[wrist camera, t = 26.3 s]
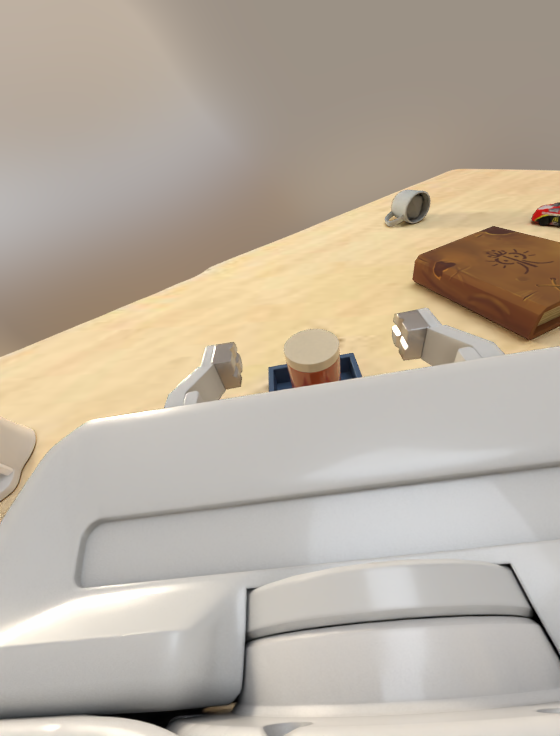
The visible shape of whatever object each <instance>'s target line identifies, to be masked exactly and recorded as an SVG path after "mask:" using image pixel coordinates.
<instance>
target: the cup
mask: <svg viewBox="0 0 560 736" xmlns="http://www.w3.org/2000/svg"><path fill="white" fill-rule="evenodd" d="M284 355H285V359H286V363H287V367H288V372H289V376H290V380H291V385H292V388H297V387H304V386H310V385H316V384H323V383H329V382H335V381H341V366H340V349H339V341H338V338H337V337H336V336H335V335H334V334H333V333H331V332H329V331H327V330H323V329H308V330H304V331H300V332H298V333H296V334H294V335H293V336H291V337H290V338H289V339H288V340H287V341H286V343H285V345H284Z"/></svg>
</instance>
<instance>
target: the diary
mask: <svg viewBox="0 0 560 736" xmlns="http://www.w3.org/2000/svg"><path fill="white" fill-rule="evenodd" d="M413 280H414V281H415V282H416V283H418V284H420V285H422V286H424V287H426V288H428V289H430V290H432V291H434V292H436V293H438V294H440V295H442V296H444V297H446V298H448V299H450V300H452V301H454V302H456V303H458V304H460V305H462V306H463V307H465V308H467V309H469V310H471V311H473V312H475V313H477V314H479V315H481V316H483V317H485V318H487V319H489V320H491V321H493V322H495V323H497V324H499V325H501V326H503V327H505V328H507V329H509V330H511V331H513V332H515V333H517V334H519V335H521V336H522V337H524V338H526V339H528V340H531V339H533V338H535V337H537V336H540V335H542V334H544V333H546V332H548V331H550V330H552V329H554V328H556V327H558V326H560V242H556V241H552V240H548V239H544V238H539V237H535V236H531V235H527V234H523V233H519V232H515V231H511V230H507V229H503V228H499V227H495V226H492V227H490V228H487V229H485V230H482V231H480V232H477V233H475V234H472V235H469V236H467V237H464V238H462V239H459V240H457V241H454V242H451V243H449V244H446V245H444V246H441V247H439V248H436V249H434V250H431V251H428V252H426V253H423V254H421V255H419V256H418V258H417V259H416V261H415V266H414V273H413Z"/></svg>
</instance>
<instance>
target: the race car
mask: <svg viewBox="0 0 560 736" xmlns="http://www.w3.org/2000/svg"><path fill="white" fill-rule="evenodd" d="M531 219H532V221H534V222H537V223H538V222H539V224H540V225H542V226H544V225H547V224H548V223H549V225H558V226H560V203H555V204H549V205H543V206H541V207H539V208H538V209H537V210H536V212H535V213H534V214H533V216H532V218H531Z"/></svg>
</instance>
